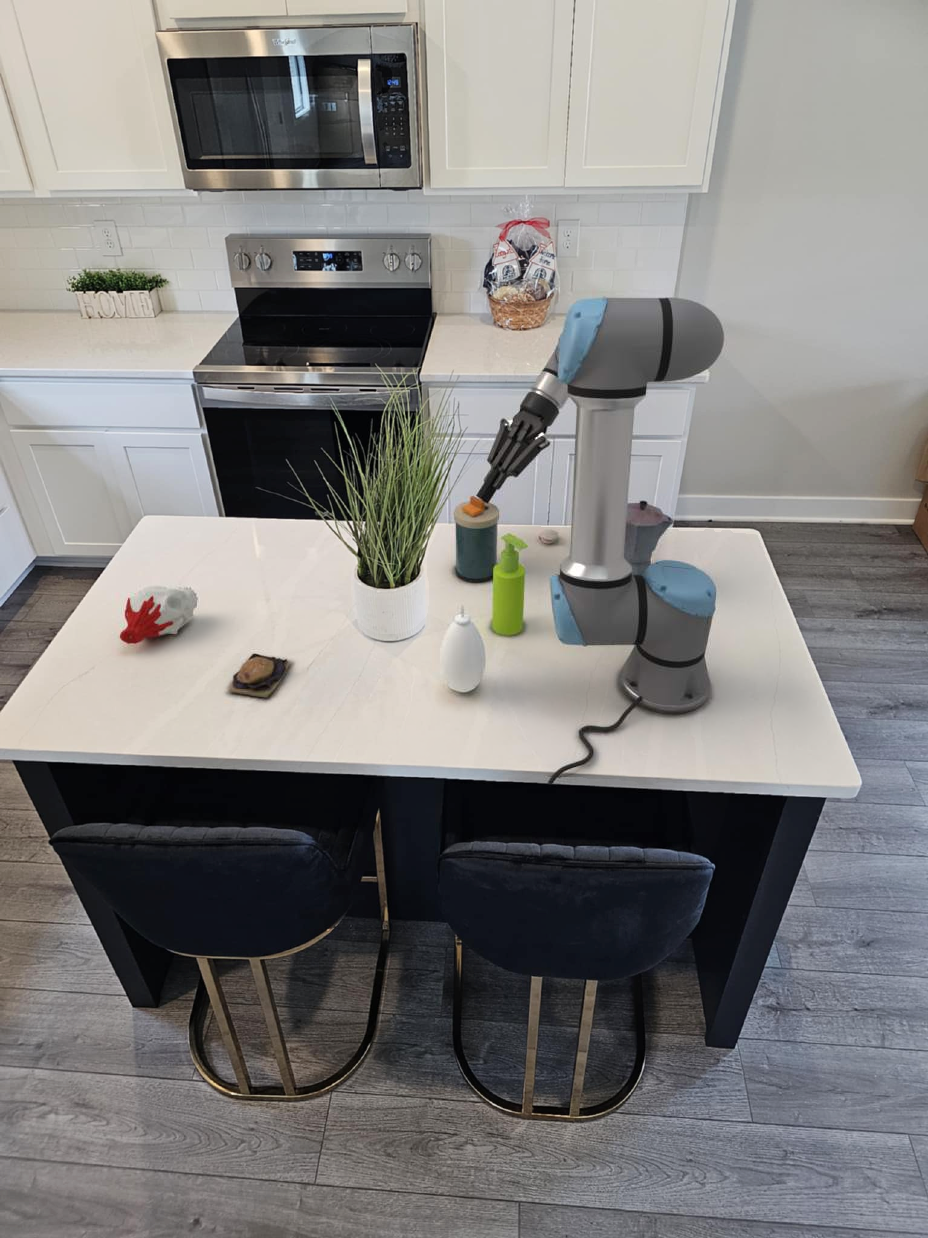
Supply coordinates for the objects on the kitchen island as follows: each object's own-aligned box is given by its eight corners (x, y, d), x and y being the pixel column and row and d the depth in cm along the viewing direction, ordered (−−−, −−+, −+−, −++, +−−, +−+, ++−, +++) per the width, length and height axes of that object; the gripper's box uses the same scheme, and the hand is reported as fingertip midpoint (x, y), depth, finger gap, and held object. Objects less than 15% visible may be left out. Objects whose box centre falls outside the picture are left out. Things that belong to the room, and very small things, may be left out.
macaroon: (534, 540, 191) (535, 530, 190) (551, 533, 194) (551, 523, 192) (547, 547, 189) (548, 537, 187) (564, 540, 191) (564, 530, 190)
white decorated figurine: (205, 613, 168) (162, 665, 157) (156, 602, 171) (111, 652, 160) (193, 578, 162) (148, 629, 151) (143, 567, 165) (95, 617, 154)
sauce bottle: (490, 678, 152) (491, 595, 141) (478, 706, 145) (478, 621, 135) (448, 670, 153) (446, 587, 143) (434, 698, 147) (432, 613, 137)
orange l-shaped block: (473, 505, 174) (473, 495, 172) (484, 511, 171) (484, 501, 170) (461, 510, 172) (461, 500, 171) (473, 516, 170) (473, 506, 168)
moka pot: (662, 603, 170) (676, 515, 159) (585, 595, 173) (594, 508, 161) (663, 578, 178) (676, 492, 166) (589, 571, 181) (597, 486, 169)
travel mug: (478, 555, 186) (478, 496, 178) (506, 572, 180) (508, 511, 172) (445, 570, 181) (444, 509, 173) (474, 588, 176) (474, 526, 167)
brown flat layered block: (269, 701, 147) (266, 684, 145) (225, 693, 149) (221, 676, 147) (294, 663, 155) (292, 647, 153) (252, 656, 157) (249, 640, 155)
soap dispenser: (509, 642, 160) (512, 550, 149) (486, 625, 165) (487, 535, 153) (532, 630, 163) (537, 540, 152) (508, 614, 168) (511, 525, 156)
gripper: (576, 419, 170) (513, 518, 171) (531, 400, 178) (471, 496, 179) (559, 400, 164) (493, 503, 165) (513, 382, 172) (451, 480, 173)
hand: (482, 499), depth 172 cm, fingers closed
